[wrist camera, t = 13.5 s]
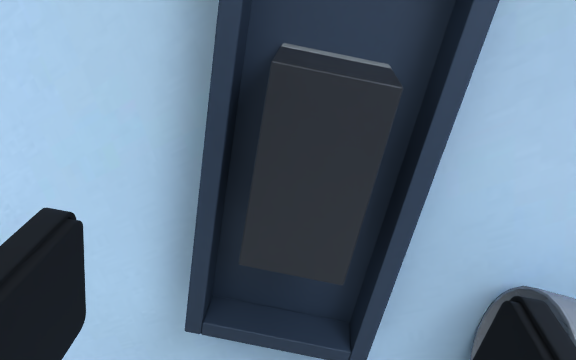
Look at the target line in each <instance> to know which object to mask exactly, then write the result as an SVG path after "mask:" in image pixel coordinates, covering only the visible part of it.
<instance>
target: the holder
mask: <svg viewBox="0 0 576 360" xmlns="http://www.w3.org/2000/svg"><path fill="white" fill-rule="evenodd" d="M498 3H499V0H219V6H218V16H217V26H216V35H215V45H214V54H213V64H212V74H211V83H210V93H209V102H208V112H207V122H206V131H205V141H204V150H203V160H202V169H201V179H200V189H199V198H198V208H197V217H196V227H195V237H194V246H193V256H192V265H191V275H190V285H189V294H188V304H187V313H186V323H185V331H186V332H191V333H196V334H202V335H207V336H212V337H217V338H222V339H227V340H232V341H237V342H242V343H246V344H251V345H256V346H261V347H266V348H271V349H276V350H281V351H286V352H291V353H296V354H301V355H306V356H311V357H316V358H321V359H326V360H366V359H367V357H368V354H369V351H370V349H371V346H372V343H373V341H374V338H375V335H376V332H377V330H378V327H379V324H380V322H381V319H382V316H383V314H384V311H385V308H386V305H387V303H388V300H389V297H390V295H391V292H392V289H393V286H394V284H395V281H396V278H397V276H398V273H399V270H400V268H401V265H402V262H403V259H404V257H405V254H406V251H407V249H408V246H409V243H410V241H411V238H412V235H413V232H414V230H415V227H416V224H417V222H418V219H419V216H420V213H421V211H422V208H423V205H424V203H425V200H426V197H427V195H428V192H429V189H430V186H431V184H432V181H433V178H434V176H435V173H436V170H437V167H438V165H439V162H440V159H441V157H442V154H443V151H444V149H445V146H446V143H447V140H448V138H449V135H450V132H451V130H452V127H453V124H454V122H455V119H456V116H457V113H458V111H459V108H460V105H461V103H462V100H463V97H464V94H465V92H466V89H467V86H468V84H469V81H470V78H471V76H472V73H473V70H474V67H475V65H476V62H477V59H478V57H479V54H480V51H481V48H482V46H483V43H484V40H485V38H486V35H487V32H488V30H489V27H490V24H491V21H492V19H493V16H494V13H495V11H496V8H497V5H498ZM283 43H287V44H292V45H297V46H301V47H306V48H311V49H316V50H321V51H326V52H331V53H336V54H341V55H346V56H351V57H355V58H360V59H365V60H370V61H375V62H380V63H385V64H389V65H390V67H391V68H392V70H393V72H394V73H395V75H396V77H397V78H398V80H399V82H400V83H401V85H402V86H403V91H402V94H401V98H400V101H399V104H398V108H397V111H396V114H395V117H394V121H393V124H392V127H391V131H390V134H389V137H388V141H387V144H386V147H385V150H384V154H383V157H382V160H381V164H380V167H379V170H378V173H377V177H376V180H375V183H374V187H373V190H372V193H371V196H370V200H369V203H368V206H367V210H366V213H365V216H364V219H363V223H362V226H361V229H360V233H359V236H358V239H357V242H356V246H355V249H354V252H353V256H352V259H351V262H350V265H349V269H348V272H347V275H346V279H345V282H344V285H337V284H332V283H327V282H322V281H317V280H312V279H307V278H302V277H297V276H292V275H287V274H282V273H277V272H272V271H267V270H262V269H257V268H252V267H247V266H242V265H239V263H238V262H239V256H240V250H241V244H242V238H243V232H244V226H245V219H246V213H247V207H248V201H249V195H250V189H251V183H252V176H253V170H254V164H255V158H256V152H257V146H258V140H259V134H260V127H261V121H262V115H263V109H264V103H265V97H266V91H267V84H268V78H269V72H270V66H271V62H272V60H273V58H274V57H275V55H276V53H277V52H278V50H279V48H280V47H281V45H282V44H283Z"/></svg>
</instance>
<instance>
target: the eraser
mask: <svg viewBox="0 0 576 360" xmlns="http://www.w3.org/2000/svg"><path fill="white" fill-rule="evenodd" d="M402 91H403V86H402V85H401V83H400V82H399V80H398V78H397V77H396V75H395V73H394V72H393V70H392V68H391V67H390V65H389V64H385V63H380V62H375V61H370V60H365V59H360V58H355V57H351V56H346V55H341V54H336V53H331V52H326V51H321V50H316V49H311V48H306V47H301V46H297V45H292V44H287V43H283V44H282V45H281V47H280V48H279V50H278V52H277V53H276V55H275V57H274V58H273V60H272V62H271V66H270V72H269V78H268V84H267V91H266V97H265V103H264V109H263V115H262V121H261V127H260V134H259V140H258V146H257V152H256V158H255V164H254V170H253V176H252V183H251V189H250V195H249V201H248V207H247V213H246V219H245V226H244V232H243V238H242V244H241V250H240V256H239V262H238V263H239V265H242V266H247V267H252V268H257V269H262V270H267V271H272V272H277V273H282V274H287V275H292V276H297V277H302V278H307V279H312V280H317V281H322V282H327V283H332V284H337V285H344V282H345V279H346V275H347V272H348V269H349V265H350V262H351V259H352V256H353V252H354V249H355V246H356V242H357V239H358V236H359V233H360V229H361V226H362V223H363V219H364V216H365V213H366V210H367V206H368V203H369V200H370V196H371V193H372V190H373V187H374V183H375V180H376V177H377V173H378V170H379V167H380V164H381V160H382V157H383V154H384V150H385V147H386V144H387V141H388V137H389V134H390V131H391V127H392V124H393V121H394V117H395V114H396V111H397V108H398V104H399V101H400V98H401V94H402Z"/></svg>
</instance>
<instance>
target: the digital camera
mask: <svg viewBox="0 0 576 360" xmlns="http://www.w3.org/2000/svg"><path fill="white" fill-rule="evenodd" d="M514 296H522V297H527V298H532V299H538V300H542V301H544V302H546V304H547V305H548V306H549V307H550V309H551V310H552V312H553V313H554V315H555V316H556V318H557V319H558V321H559V322H560V324H561V325H562V327H563V328H564V330H565V331H566V333H567V334H568V336H569V337H570V339H571V340H572V342H573V343H574V345H575V346H576V299H574V298H570V297H567V296H563V295H559V294H555V293H552V292H548V291H544V290H541V289H537V288H531V287H526V286H521V287H517V288H513V289H510V290H508V291H506V292H505V293H503V294H501V295H500V296H499V297H498V298H497V299H496V300H495V301H494V302H493V303H492V304H491V306H490V307H489V308H488V310H487V311H486V313H485V314H484V316H483V318H482V321H481V323H480V325H479V327H478V329H477V332H476V335H475V339H474V343H473V346H472V351H471V358H470V360H473V358H474V356H475V354H476V352H477V350H478V348H479V346H480V345H481V343H482V341H483V339H484V337H485V335H486V333H487V331H488V329H489V327H490V326H491V324H492V322H493V320H494V318H495V316H496V314H497V312H498V310H499V308H500V306H501V305H502V303H503V302H505V301H510V299H511V298H512V297H514Z"/></svg>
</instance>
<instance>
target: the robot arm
mask: <svg viewBox="0 0 576 360" xmlns="http://www.w3.org/2000/svg"><path fill="white" fill-rule="evenodd" d="M85 316H86V303H85V272H84V242H83V224H82V222H81V221H78V220H76V217H75V215H74V213H72V212H67V211H62V210H57V209H51V208H43V209H42V210H40V211H39V212H38V213H37V214H36V215H35V216H33V217H32V218H31V219H30V220H29V221H28V222H27V223H26V224H24V225H23V226H22V227H21V228H20V229H19V230H18V231H17V232H15V233H14V234H13V235H12V236H11V237H10V238H9V239H8V240H6V241H5V242H4V243H3V244H2V245H1V246H0V360H62V358H63V357H64V355H65V354H66V352H67V351H68V349H69V348H70V346H71V344H72V343H73V341H74V340H75V338H76V337H77V335H78V334H79V332H80V330H81V329H82V326H83V324H84V321H85ZM473 360H576V346H575V345H574V343H573V342H572V340H571V339H570V337H569V336H568V334H567V333H566V331H565V330H564V328H563V327H562V325H561V324H560V322H559V321H558V319H557V318H556V316H555V315H554V313H553V312H552V310H551V309H550V307H549V306H548V305H547V304H546V302H544V301H542V300H538V299H532V298H527V297H522V296H514V297H512V298H511V299H510V301H505V302H503V303H502V305H501V306H500V308H499V310H498V312H497V314H496V316H495V318H494V320H493V322H492V324H491V326H490V327H489V329H488V331H487V333H486V335H485V337H484V339H483V341H482V343H481V345H480V346H479V348H478V350H477V352H476V354H475V356H474V358H473Z"/></svg>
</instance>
